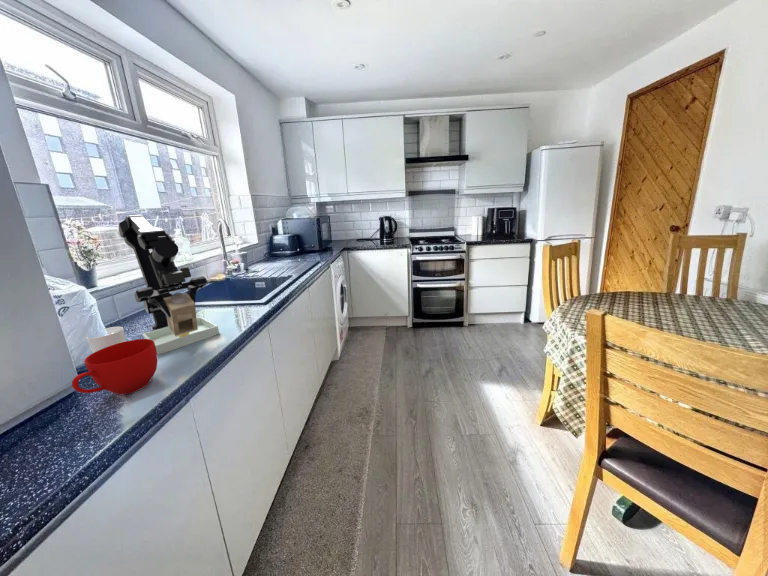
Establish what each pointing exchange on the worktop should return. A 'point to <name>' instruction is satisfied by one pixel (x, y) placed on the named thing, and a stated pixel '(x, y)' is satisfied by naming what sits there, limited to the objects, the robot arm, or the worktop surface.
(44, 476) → the worktop surface
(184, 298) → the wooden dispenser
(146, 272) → the robot arm
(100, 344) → the white cup
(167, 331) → the tray
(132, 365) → the ceramic cup
